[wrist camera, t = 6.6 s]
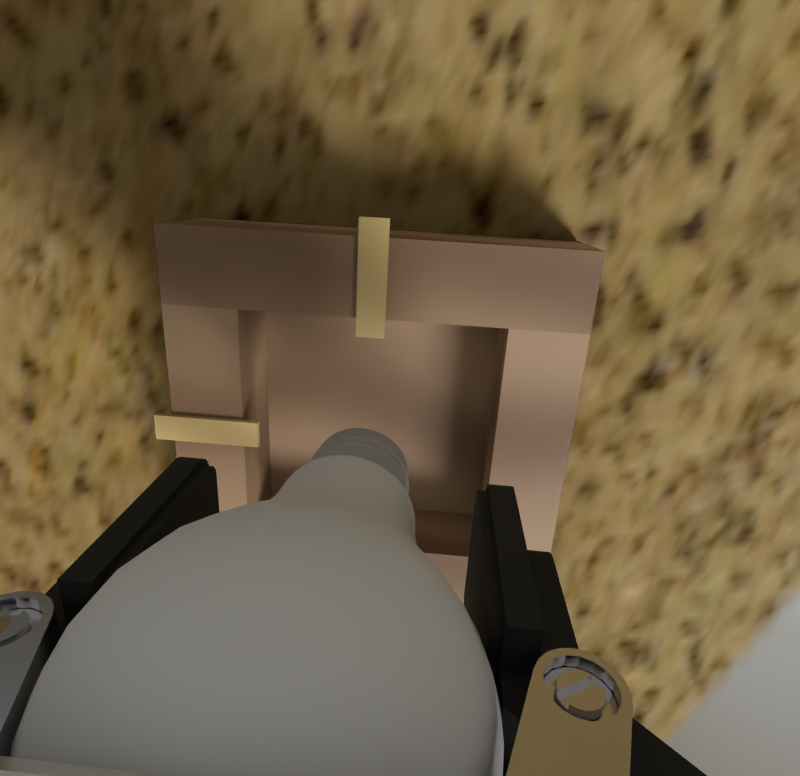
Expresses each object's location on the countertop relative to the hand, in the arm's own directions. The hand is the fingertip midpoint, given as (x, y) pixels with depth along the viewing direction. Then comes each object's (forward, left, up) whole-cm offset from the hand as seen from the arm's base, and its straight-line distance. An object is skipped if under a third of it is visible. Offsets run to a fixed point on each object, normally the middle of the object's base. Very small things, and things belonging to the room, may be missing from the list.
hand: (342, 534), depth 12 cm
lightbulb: (0, 0, -4) cm, 4 cm away
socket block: (0, 0, -8) cm, 8 cm away
